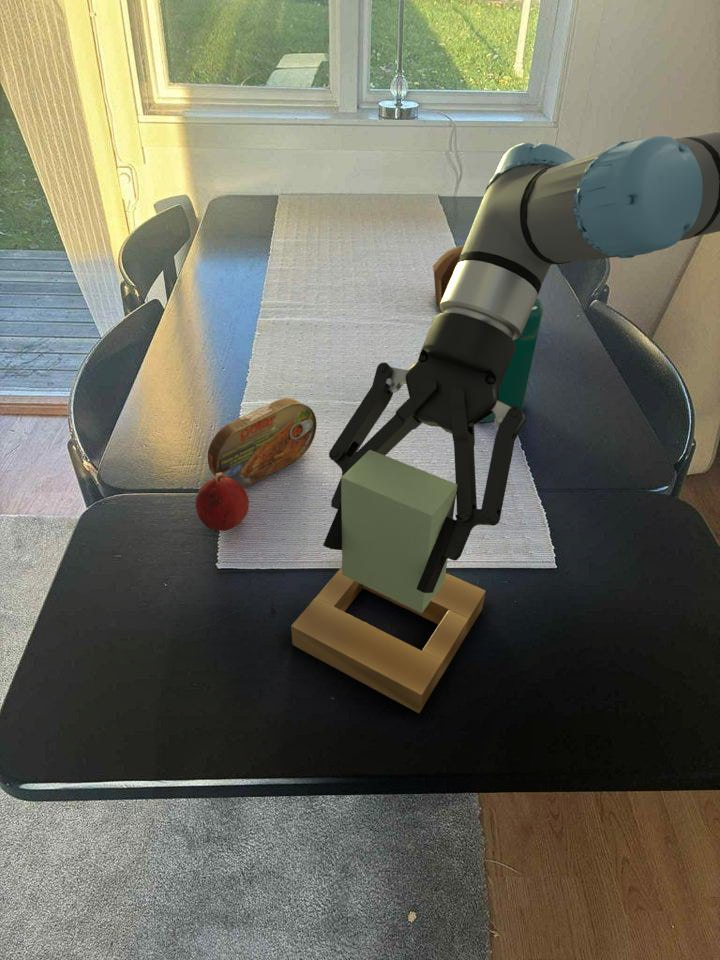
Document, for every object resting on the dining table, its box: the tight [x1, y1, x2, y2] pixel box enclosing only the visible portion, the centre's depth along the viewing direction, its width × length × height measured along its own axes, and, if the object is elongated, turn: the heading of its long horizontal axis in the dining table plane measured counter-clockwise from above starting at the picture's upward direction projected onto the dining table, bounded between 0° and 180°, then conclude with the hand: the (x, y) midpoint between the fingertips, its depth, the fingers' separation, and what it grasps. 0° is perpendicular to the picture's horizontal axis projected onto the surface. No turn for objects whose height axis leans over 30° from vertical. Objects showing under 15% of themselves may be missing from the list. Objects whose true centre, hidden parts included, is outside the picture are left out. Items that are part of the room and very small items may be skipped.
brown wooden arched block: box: [432, 244, 465, 311], centre depth 121 cm, size 12×11×10 cm
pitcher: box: [479, 298, 544, 423], centre depth 93 cm, size 10×8×22 cm
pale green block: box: [340, 450, 457, 613], centre depth 61 cm, size 4×8×12 cm, turn 58°
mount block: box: [290, 566, 486, 714], centre depth 69 cm, size 14×14×3 cm
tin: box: [207, 397, 318, 489], centre depth 86 cm, size 15×3×8 cm, turn 132°
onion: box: [195, 472, 250, 532], centre depth 78 cm, size 6×6×8 cm
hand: (377, 568), depth 61 cm, fingers closed on pale green block, 8 cm apart
